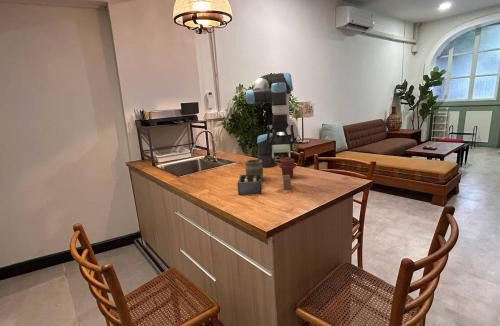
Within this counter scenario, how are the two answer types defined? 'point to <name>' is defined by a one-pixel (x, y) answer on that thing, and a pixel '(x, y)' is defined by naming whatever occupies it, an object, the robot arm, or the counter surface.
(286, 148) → the board
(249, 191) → the frame
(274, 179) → the counter surface
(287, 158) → the mechanical component
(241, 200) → the counter surface
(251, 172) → the mug
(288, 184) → the block
